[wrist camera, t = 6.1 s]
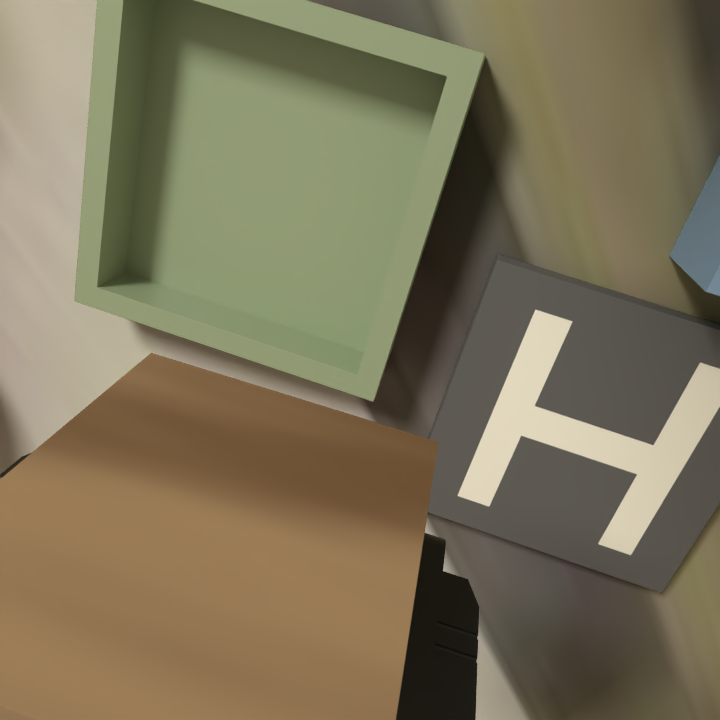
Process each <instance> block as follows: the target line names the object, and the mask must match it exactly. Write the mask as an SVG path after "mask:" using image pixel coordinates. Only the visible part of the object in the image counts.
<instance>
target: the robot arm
mask: <svg viewBox="0 0 720 720" xmlns="http://www.w3.org/2000/svg"><path fill="white" fill-rule="evenodd" d="M30 454H31V453H30ZM30 454H27V455H25V456H23V457H21V458H20V459H19V460H18V461H16V462H15V463H14V464H13V465H11V466H10V467H9V468H8V469H7V470H5V471H4V472H3V473H2V474H1V475H0V479H1V478H2V477H4V476H5V475H6V474H7V473H8V472H10V471H11V470H12V469H13V468H14V467H16V466H17V465H18V464H19V463H20V462H21V461H23V460H24V459H25V458H26V457H27V456H29V455H30ZM445 545H446V541H445V539H442V538H439V537H436V536H433V535H430V534H427V533H424V540H423V546H422V553H421V559H420V566H419V572H418V579H417V585H416V592H415V598H414V605H413V611H412V618H411V624H410V631H409V637H408V644H407V650H406V657H405V663H404V670H403V676H402V683H401V689H400V696H399V702H398V709H397V715H396V720H475V714H476V684H477V663H476V660H477V653H478V640H477V636H478V623H479V605H478V603H477V601H476V598H475V596H474V593H473V591H472V588H471V586H470V584H469V581H468V579H465V578H462V577H459V576H456V575H453V574H450V573H447V572H444V571H443V564H444V555H445Z"/></svg>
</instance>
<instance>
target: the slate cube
mask: <svg viewBox="0 0 720 720" xmlns="http://www.w3.org/2000/svg"><path fill="white" fill-rule="evenodd" d="M669 256H670V257H671V258H672V259H673V260H674V261H675V262H676V263H677V264H678V265H679V266H680V267H681V268H682V269H683V270H684V271H685V272H686V273H687V274H688V275H689V276H690V277H691V278H692V279H693V280H694V281H695V282H696V283H697V284H698V285H699V286H700V287H701V288H702V289H703V290H704V291H705V292H708V293H711V294H715V295H718V296H720V156H719V158H718V160H717V162H716V164H715V166H714V168H713V170H712V172H711V174H710V176H709V178H708V180H707V182H706V184H705V186H704V187H703V189H702V191H701V193H700V195H699V197H698V199H697V201H696V203H695V205H694V207H693V209H692V211H691V213H690V215H689V217H688V219H687V221H686V223H685V225H684V227H683V229H682V231H681V233H680V235H679V237H678V239H677V241H676V243H675V245H674V247H673V249H672V251H671V253H670V255H669Z"/></svg>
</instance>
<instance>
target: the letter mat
mask: <svg viewBox="0 0 720 720" xmlns="http://www.w3.org/2000/svg"><path fill="white" fill-rule="evenodd" d="M428 439H431V440H434V441H437V442H438V449H437V455H436V462H435V468H434V475H433V481H432V488H431V494H430V501H429V507H428V513H431V514H434V515H437V516H440V517H443V518H446V519H449V520H452V521H454V522H457V523H460V524H463V525H466V526H469V527H472V528H475V529H478V530H480V531H483V532H486V533H489V534H492V535H495V536H498V537H501V538H504V539H506V540H509V541H512V542H515V543H518V544H521V545H524V546H527V547H530V548H533V549H535V550H538V551H541V552H544V553H547V554H550V555H553V556H556V557H559V558H561V559H564V560H567V561H570V562H573V563H576V564H579V565H582V566H585V567H587V568H590V569H593V570H596V571H599V572H602V573H605V574H608V575H611V576H613V577H616V578H619V579H622V580H625V581H628V582H631V583H634V584H637V585H639V586H642V587H645V588H648V589H651V590H654V591H657V592H660V593H662V591H663V590H664V588H665V587H666V585H667V584H668V582H669V581H670V579H671V578H672V576H673V575H674V573H675V571H676V570H677V568H678V567H679V565H680V564H681V562H682V561H683V559H684V558H685V556H686V554H687V553H688V551H689V550H690V548H691V547H692V545H693V544H694V542H695V541H696V539H697V537H698V536H699V534H700V533H701V531H702V530H703V528H704V527H705V525H706V524H707V522H708V521H709V519H710V517H711V516H712V514H713V513H714V511H715V510H716V508H717V507H718V505H719V504H720V324H717V323H714V322H710V321H707V320H704V319H701V318H698V317H695V316H691V315H688V314H685V313H682V312H679V311H676V310H673V309H669V308H666V307H663V306H660V305H657V304H654V303H650V302H647V301H644V300H641V299H638V298H635V297H632V296H628V295H625V294H622V293H619V292H616V291H613V290H609V289H606V288H603V287H600V286H597V285H594V284H591V283H587V282H584V281H581V280H578V279H575V278H572V277H568V276H565V275H562V274H559V273H556V272H553V271H550V270H546V269H543V268H540V267H537V266H534V265H531V264H527V263H524V262H521V261H518V260H515V259H512V258H509V257H505V256H502V255H499V254H497V256H496V258H495V261H494V264H493V266H492V269H491V272H490V274H489V277H488V280H487V282H486V285H485V288H484V290H483V293H482V296H481V298H480V301H479V304H478V306H477V309H476V312H475V314H474V317H473V320H472V322H471V325H470V328H469V330H468V333H467V336H466V338H465V341H464V344H463V346H462V349H461V352H460V354H459V357H458V360H457V363H456V365H455V368H454V371H453V373H452V376H451V379H450V381H449V384H448V387H447V389H446V392H445V395H444V397H443V400H442V403H441V405H440V408H439V411H438V413H437V416H436V419H435V421H434V424H433V427H432V429H431V432H430V435H429V437H428Z"/></svg>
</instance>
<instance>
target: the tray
mask: <svg viewBox="0 0 720 720" xmlns="http://www.w3.org/2000/svg"><path fill="white" fill-rule="evenodd" d="M485 58H486V55H485V53H481V52H478V51H474V50H471V49H468V48H464V47H461V46H458V45H454V44H451V43H447V42H444V41H441V40H437V39H434V38H431V37H427V36H424V35H421V34H417V33H414V32H410V31H407V30H404V29H400V28H397V27H394V26H390V25H387V24H383V23H380V22H377V21H373V20H370V19H367V18H363V17H360V16H357V15H353V14H350V13H346V12H343V11H340V10H336V9H333V8H330V7H326V6H323V5H320V4H316V3H313V2H309V1H306V0H97V9H96V23H95V36H94V49H93V62H92V75H91V88H90V102H89V115H88V128H87V141H86V154H85V167H84V180H83V194H82V207H81V220H80V233H79V246H78V259H77V273H76V286H75V299H74V301H75V302H78V303H81V304H84V305H87V306H90V307H93V308H96V309H99V310H102V311H105V312H108V313H111V314H114V315H117V316H120V317H123V318H126V319H129V320H132V321H135V322H138V323H141V324H144V325H147V326H150V327H153V328H156V329H159V330H161V331H164V332H167V333H170V334H173V335H176V336H179V337H182V338H185V339H188V340H191V341H194V342H197V343H200V344H203V345H206V346H209V347H212V348H215V349H218V350H221V351H224V352H227V353H230V354H233V355H236V356H239V357H242V358H245V359H248V360H251V361H254V362H257V363H260V364H263V365H266V366H269V367H271V368H274V369H277V370H280V371H283V372H286V373H289V374H292V375H295V376H298V377H301V378H304V379H307V380H310V381H313V382H316V383H319V384H322V385H325V386H328V387H331V388H334V389H337V390H340V391H343V392H346V393H349V394H352V395H355V396H358V397H361V398H364V399H367V400H370V401H374V399H375V396H376V394H377V391H378V388H379V386H380V383H381V380H382V378H383V375H384V372H385V369H386V366H387V363H388V360H389V357H390V354H391V351H392V348H393V344H394V341H395V338H396V335H397V332H398V329H399V326H400V323H401V320H402V316H403V313H404V310H405V307H406V304H407V301H408V298H409V295H410V292H411V288H412V285H413V282H414V279H415V276H416V273H417V270H418V267H419V264H420V260H421V257H422V254H423V251H424V248H425V245H426V242H427V239H428V236H429V232H430V229H431V226H432V223H433V220H434V217H435V214H436V211H437V208H438V204H439V201H440V198H441V195H442V192H443V189H444V186H445V183H446V180H447V176H448V173H449V170H450V167H451V164H452V161H453V158H454V155H455V152H456V149H457V145H458V142H459V139H460V136H461V133H462V130H463V127H464V124H465V121H466V117H467V114H468V111H469V108H470V105H471V102H472V99H473V96H474V93H475V89H476V86H477V83H478V80H479V77H480V74H481V71H482V68H483V65H484V61H485Z"/></svg>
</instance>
